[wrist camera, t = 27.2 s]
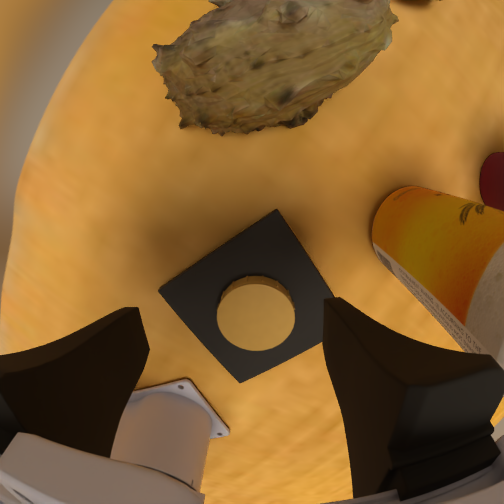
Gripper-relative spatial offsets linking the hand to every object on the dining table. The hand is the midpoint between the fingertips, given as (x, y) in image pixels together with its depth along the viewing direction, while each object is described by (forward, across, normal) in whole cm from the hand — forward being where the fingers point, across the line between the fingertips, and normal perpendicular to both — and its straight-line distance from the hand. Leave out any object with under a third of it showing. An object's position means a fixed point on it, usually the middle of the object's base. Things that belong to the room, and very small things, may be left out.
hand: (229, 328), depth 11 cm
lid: (+8, 0, +4) cm, 9 cm away
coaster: (+9, 0, +4) cm, 10 cm away
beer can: (+10, -11, -1) cm, 15 cm away
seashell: (+10, -3, -13) cm, 17 cm away
